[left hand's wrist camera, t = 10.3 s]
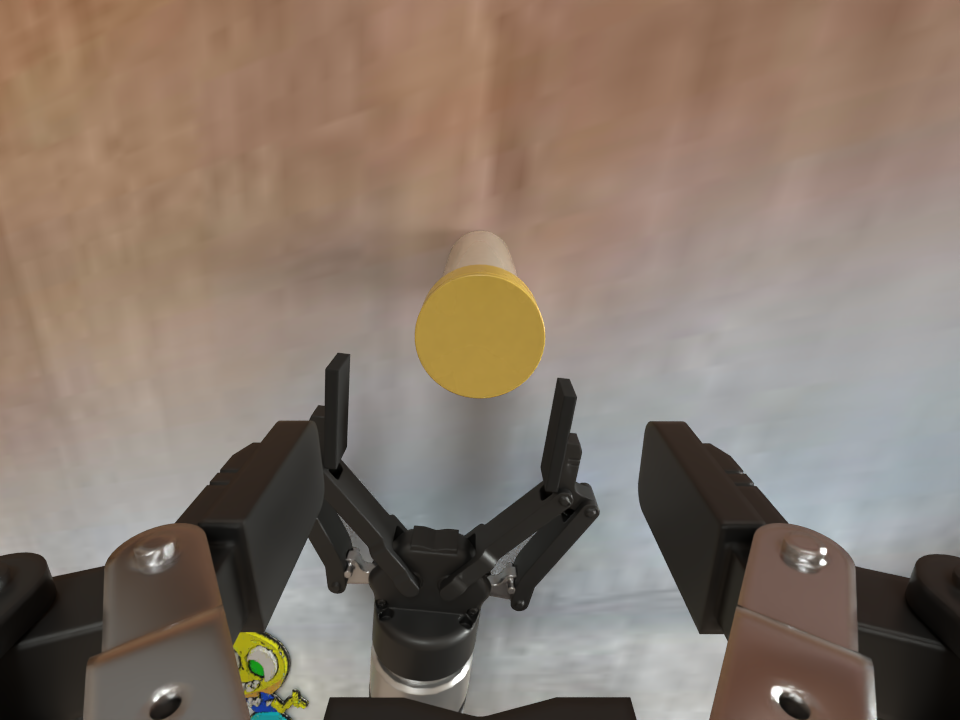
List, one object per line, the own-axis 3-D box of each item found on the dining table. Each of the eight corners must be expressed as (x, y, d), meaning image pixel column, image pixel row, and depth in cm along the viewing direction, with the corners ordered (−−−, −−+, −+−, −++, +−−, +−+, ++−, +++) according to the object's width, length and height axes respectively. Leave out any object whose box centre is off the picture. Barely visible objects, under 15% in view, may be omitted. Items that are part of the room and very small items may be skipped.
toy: (203, 740, 50) (180, 624, 45) (208, 731, 51) (185, 616, 46) (309, 744, 50) (298, 629, 45) (311, 735, 51) (301, 620, 46)
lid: (405, 355, 22) (398, 374, 20) (443, 245, 20) (439, 254, 18) (513, 393, 23) (516, 414, 21) (558, 289, 21) (566, 302, 19)
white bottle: (440, 280, 35) (410, 365, 20) (461, 221, 34) (446, 265, 19) (497, 301, 36) (510, 399, 21) (520, 243, 34) (551, 304, 19)
